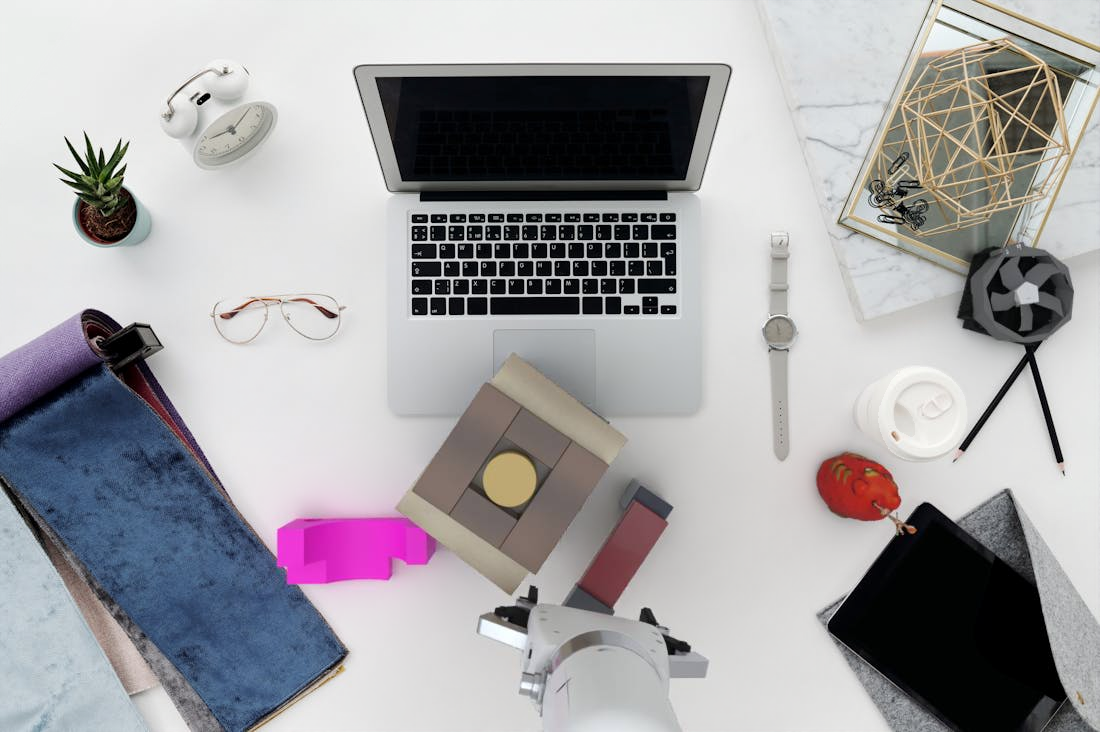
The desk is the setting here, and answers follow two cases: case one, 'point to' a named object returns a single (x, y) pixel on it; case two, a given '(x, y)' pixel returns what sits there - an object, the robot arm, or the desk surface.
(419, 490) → the interlocking block puzzle
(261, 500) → the desk surface
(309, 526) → the toy block
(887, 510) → the red clay folk toy
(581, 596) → the bar
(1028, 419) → the desk surface
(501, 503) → the button
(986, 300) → the cpu cooler
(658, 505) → the dark blue-grey long block
